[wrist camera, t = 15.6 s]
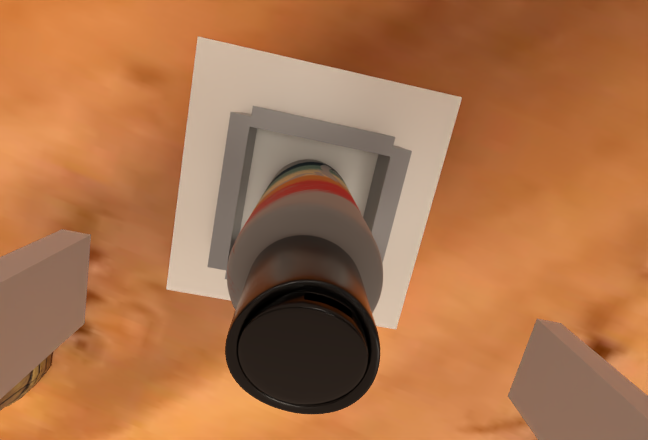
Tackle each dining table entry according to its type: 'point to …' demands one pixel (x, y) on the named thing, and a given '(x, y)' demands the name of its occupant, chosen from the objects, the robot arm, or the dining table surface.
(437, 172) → the bottle holder
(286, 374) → the lotion bottle
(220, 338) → the dining table surface
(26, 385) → the wooden mug
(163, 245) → the dining table surface
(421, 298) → the dining table surface
